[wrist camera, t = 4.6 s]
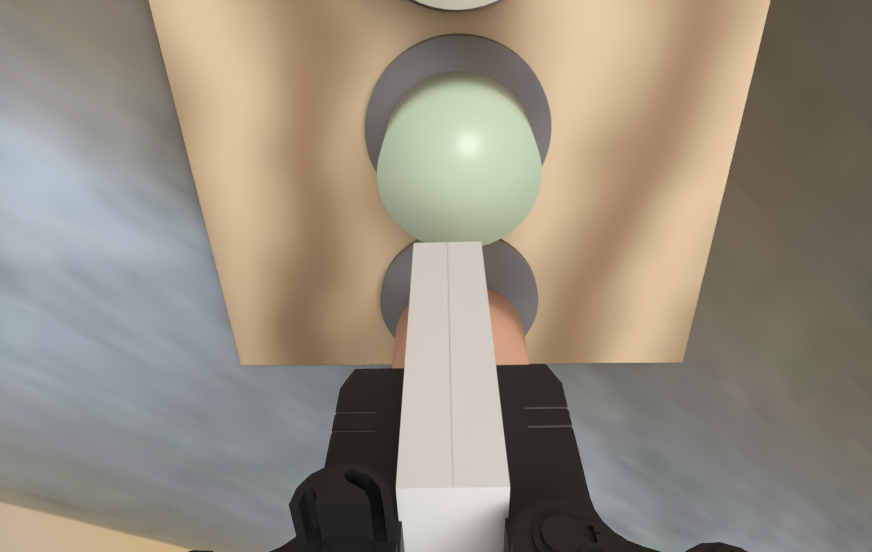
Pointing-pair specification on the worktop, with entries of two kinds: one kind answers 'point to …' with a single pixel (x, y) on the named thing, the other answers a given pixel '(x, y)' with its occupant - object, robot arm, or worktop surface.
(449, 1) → the cream button
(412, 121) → the sage button
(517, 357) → the terracotta button
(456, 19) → the button board
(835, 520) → the worktop surface
